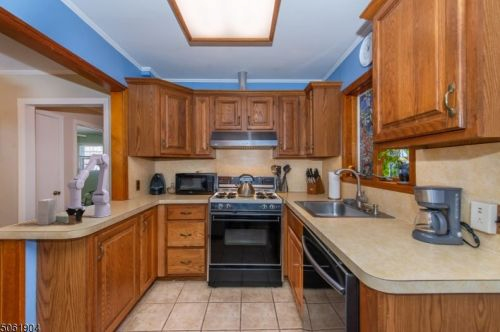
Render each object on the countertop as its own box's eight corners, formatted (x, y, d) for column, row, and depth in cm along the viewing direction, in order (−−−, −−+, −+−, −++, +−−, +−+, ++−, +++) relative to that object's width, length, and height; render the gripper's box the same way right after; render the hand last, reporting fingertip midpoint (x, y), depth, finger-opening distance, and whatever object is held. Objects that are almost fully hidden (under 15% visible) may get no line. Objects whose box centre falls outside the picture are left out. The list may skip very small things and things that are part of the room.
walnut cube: (76, 221, 154) (76, 214, 154) (82, 222, 152) (82, 214, 152) (68, 223, 149) (68, 215, 149) (74, 224, 147) (74, 216, 147)
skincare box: (46, 221, 152) (46, 198, 152) (56, 221, 153) (57, 198, 153) (36, 225, 144) (37, 200, 144) (48, 224, 145) (48, 200, 145)
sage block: (69, 218, 164) (69, 212, 164) (80, 219, 161) (80, 213, 161) (53, 221, 154) (53, 215, 154) (64, 223, 151) (64, 216, 151)
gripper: (60, 199, 149) (59, 221, 149) (78, 200, 145) (78, 223, 145) (71, 197, 155) (71, 218, 155) (89, 199, 151) (88, 220, 151)
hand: (75, 220), depth 150 cm, fingers closed on walnut cube, 5 cm apart
